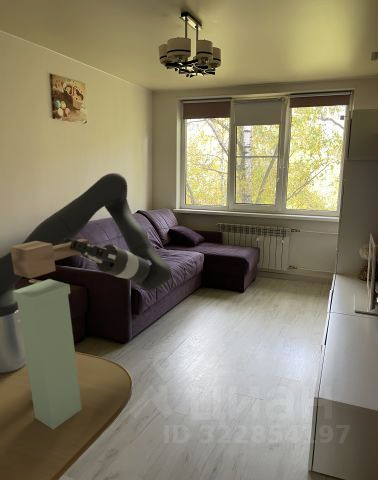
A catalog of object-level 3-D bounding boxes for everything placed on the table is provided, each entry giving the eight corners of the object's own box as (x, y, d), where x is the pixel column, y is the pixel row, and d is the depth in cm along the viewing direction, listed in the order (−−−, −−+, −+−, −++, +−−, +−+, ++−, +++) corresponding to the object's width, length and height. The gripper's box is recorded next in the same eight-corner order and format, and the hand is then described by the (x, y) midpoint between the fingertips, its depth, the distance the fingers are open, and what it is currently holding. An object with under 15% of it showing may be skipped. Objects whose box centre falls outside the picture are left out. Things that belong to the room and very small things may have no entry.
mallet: (14, 273, 79) (10, 246, 77) (79, 254, 92) (76, 231, 91) (30, 278, 75) (26, 250, 74) (95, 258, 89) (92, 233, 87)
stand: (32, 418, 87) (12, 291, 80) (64, 397, 94) (49, 279, 87) (51, 431, 83) (32, 298, 75) (84, 408, 90) (69, 284, 82)
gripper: (104, 245, 104) (54, 225, 90) (141, 252, 96) (92, 230, 82) (96, 271, 102) (44, 254, 89) (132, 280, 94) (82, 262, 81)
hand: (68, 243), depth 85 cm, fingers closed on mallet, 2 cm apart
